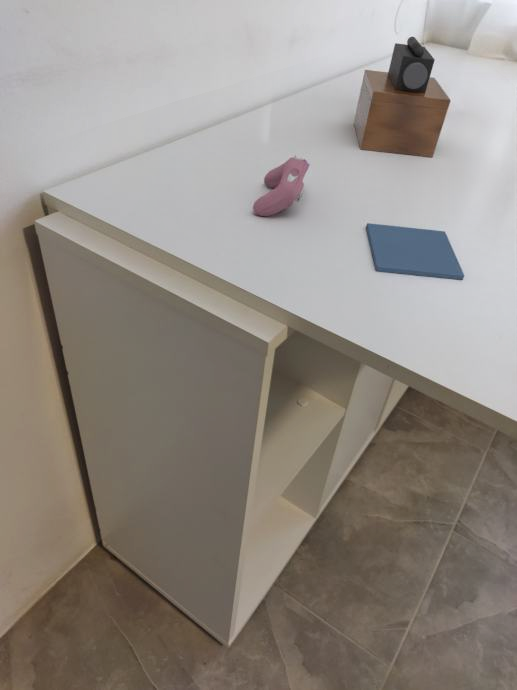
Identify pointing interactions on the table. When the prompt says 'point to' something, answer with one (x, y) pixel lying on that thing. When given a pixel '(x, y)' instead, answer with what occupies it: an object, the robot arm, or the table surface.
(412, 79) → the dark grey boxy piece
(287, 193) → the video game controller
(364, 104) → the wooden block
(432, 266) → the felt pad
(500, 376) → the table surface
